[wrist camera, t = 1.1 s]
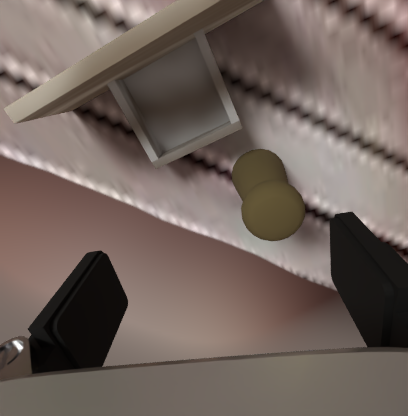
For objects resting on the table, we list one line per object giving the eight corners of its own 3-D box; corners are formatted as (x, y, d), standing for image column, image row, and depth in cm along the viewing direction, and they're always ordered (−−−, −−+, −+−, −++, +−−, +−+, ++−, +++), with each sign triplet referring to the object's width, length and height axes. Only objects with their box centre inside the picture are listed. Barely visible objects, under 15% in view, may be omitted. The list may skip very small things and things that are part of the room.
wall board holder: (65, 99, 28) (3, 108, 20) (262, -18, 23) (286, -69, 15) (117, 180, 32) (83, 215, 24) (297, 95, 27) (331, 103, 19)
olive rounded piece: (288, 191, 31) (320, 243, 22) (238, 204, 33) (247, 259, 23) (279, 142, 29) (310, 175, 19) (225, 157, 30) (229, 196, 20)
